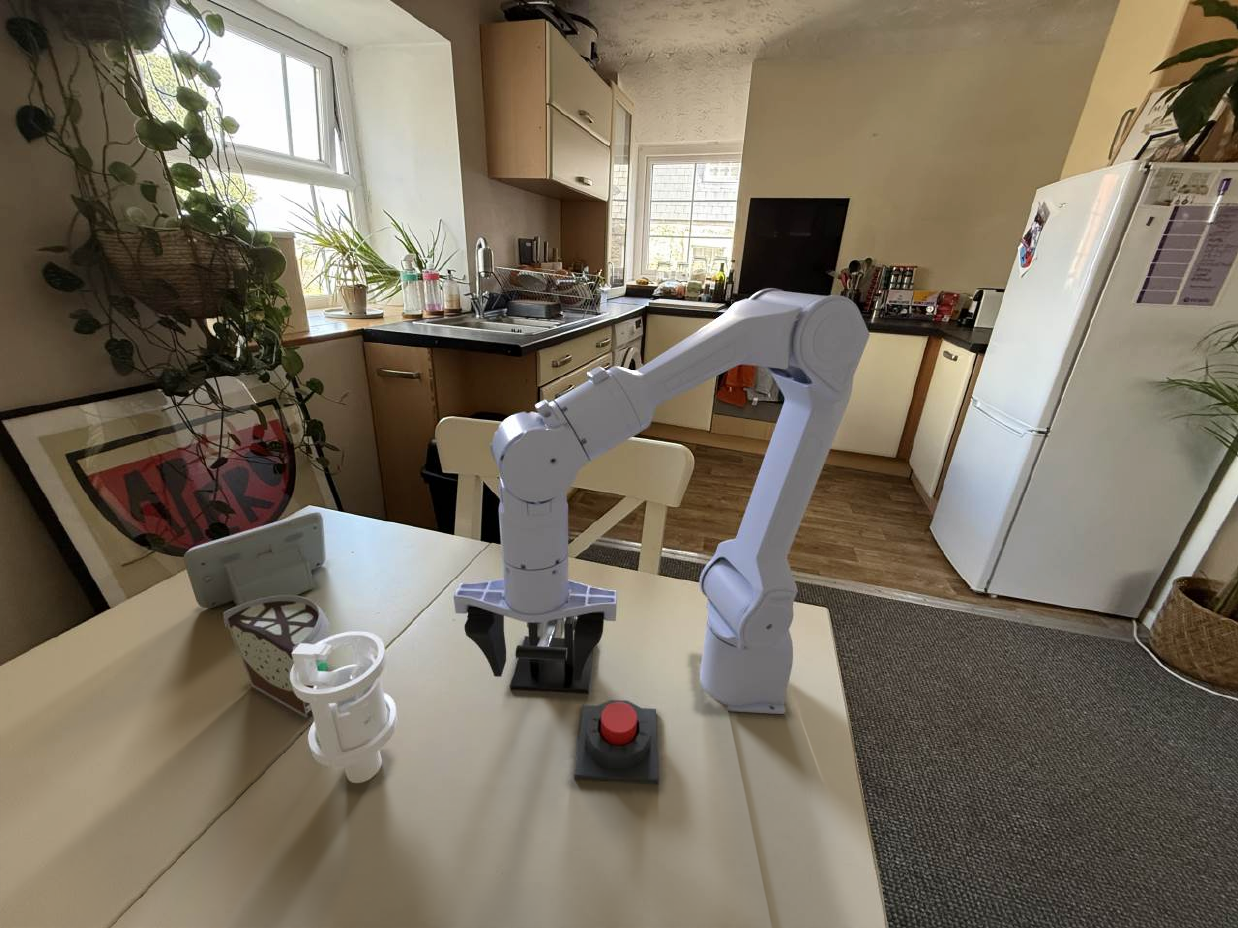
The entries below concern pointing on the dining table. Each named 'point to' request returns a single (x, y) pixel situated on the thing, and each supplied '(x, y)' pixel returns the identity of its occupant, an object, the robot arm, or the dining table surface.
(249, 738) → the dining table surface
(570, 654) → the switch bracket
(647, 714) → the control block
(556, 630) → the switch
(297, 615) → the chocolate cake slice
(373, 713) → the white plastic cylinder
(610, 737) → the button
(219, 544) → the digital clock
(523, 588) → the robot arm
